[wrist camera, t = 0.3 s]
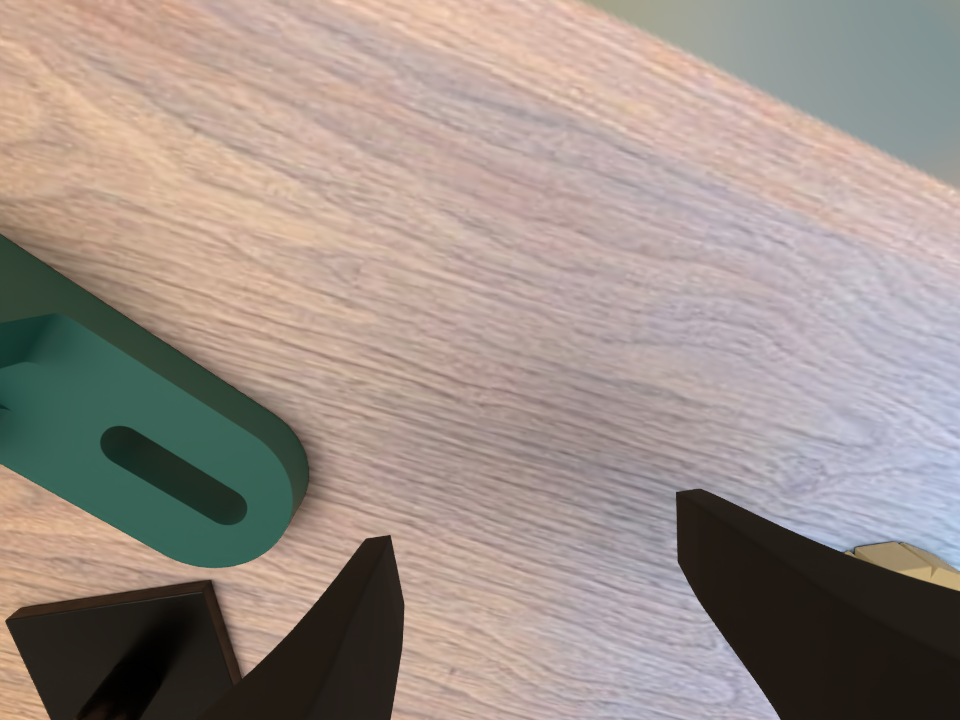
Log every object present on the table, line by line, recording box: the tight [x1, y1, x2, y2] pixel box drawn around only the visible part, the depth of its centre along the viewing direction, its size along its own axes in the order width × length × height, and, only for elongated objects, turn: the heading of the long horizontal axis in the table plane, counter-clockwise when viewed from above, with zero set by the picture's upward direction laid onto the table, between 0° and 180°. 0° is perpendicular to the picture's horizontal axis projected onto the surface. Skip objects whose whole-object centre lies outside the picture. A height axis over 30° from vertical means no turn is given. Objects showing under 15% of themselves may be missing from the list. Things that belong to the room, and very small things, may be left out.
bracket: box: [0, 235, 309, 568], centre depth 16 cm, size 18×7×8 cm, turn 51°
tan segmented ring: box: [845, 542, 960, 591], centre depth 25 cm, size 10×10×2 cm
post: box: [5, 581, 242, 720], centre depth 21 cm, size 9×9×5 cm
